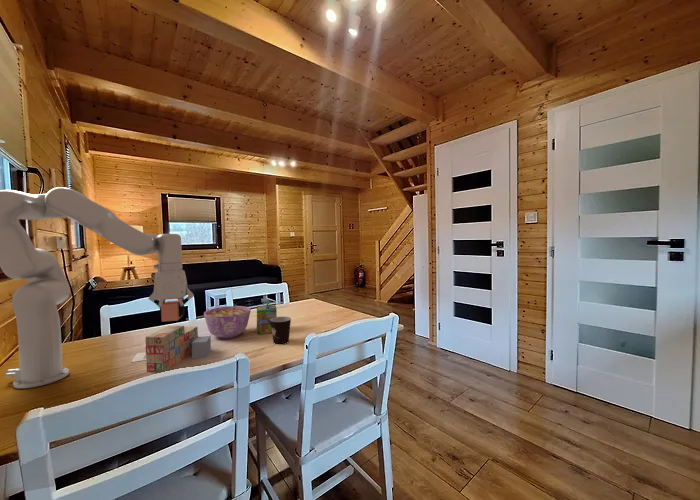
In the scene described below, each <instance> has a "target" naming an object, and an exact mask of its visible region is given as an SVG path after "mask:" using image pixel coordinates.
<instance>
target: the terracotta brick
mask: <svg viewBox="0 0 700 500" xmlns="http://www.w3.org/2000/svg"><path fill="white" fill-rule="evenodd" d="M161 317H162V318H161V322H162V323H163V322H175V321H179V320H180V319H181V318H182V317H179V301H178V299H174V300H167V301H165V303H163V304H162V305H161Z"/></svg>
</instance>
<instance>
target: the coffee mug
mask: <svg viewBox="0 0 700 500" xmlns="http://www.w3.org/2000/svg"><path fill="white" fill-rule="evenodd" d="M291 319H292V318H291V317H290V316H277V317H275V318H272V319H270V325H271V329H272V333H271V334H272V341H273V344H274V343H275V344H274V345H276V344H283V345H286V344H288V343H289V340H290V331H291V322H292V321H291ZM287 342H288V343H287ZM285 343H286V344H285Z"/></svg>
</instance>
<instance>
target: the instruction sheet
mask: <svg viewBox="0 0 700 500" xmlns="http://www.w3.org/2000/svg"><path fill="white" fill-rule="evenodd" d="M144 361H146V351H145V352H137V353H136V354H135V356H134V357H133V359H132V360H131V363H136V362H144Z"/></svg>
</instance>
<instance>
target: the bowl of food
mask: <svg viewBox="0 0 700 500" xmlns="http://www.w3.org/2000/svg"><path fill="white" fill-rule="evenodd" d="M251 310H252V309H251V307H249V306H245V305H244V306H243V305H231V306H221V307H214V308H211V309H207V310H205V311H204V312H203V315H204V320H205V322H206V326H207V329H208V332H209V333H210V334H211V335H212V336H214V337H218V338H219V339H232V338H235V337H238V335H240V334H241V333H243V332H245V330H246V328H247V327H248V324H249V319H250V316H251V315H250V314H251Z"/></svg>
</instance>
